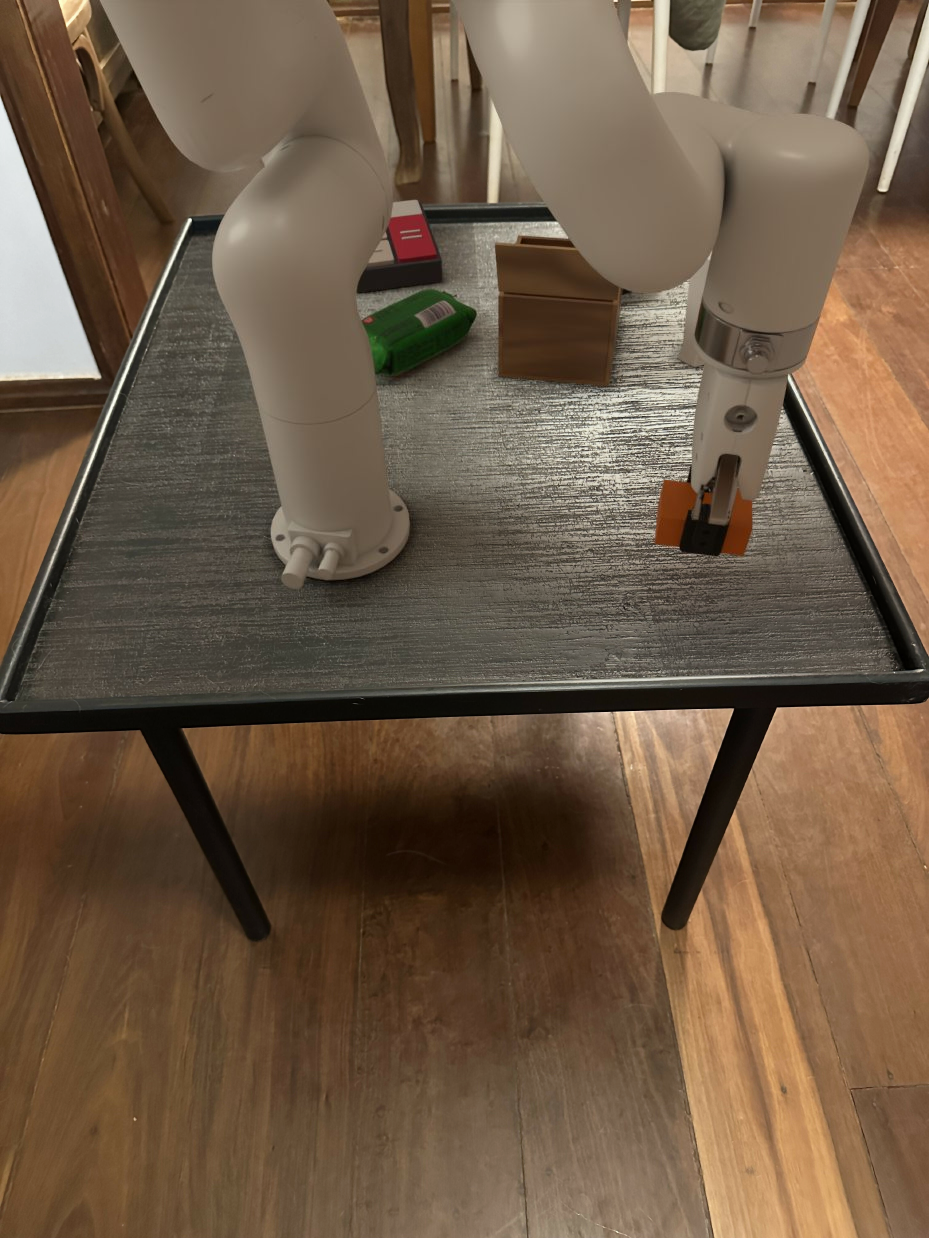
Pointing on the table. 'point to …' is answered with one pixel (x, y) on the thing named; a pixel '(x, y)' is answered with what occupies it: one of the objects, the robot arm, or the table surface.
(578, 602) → the table surface
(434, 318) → the snack package
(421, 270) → the calculator
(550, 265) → the flap
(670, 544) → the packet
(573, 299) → the open wooden box
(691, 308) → the perfume bottle
